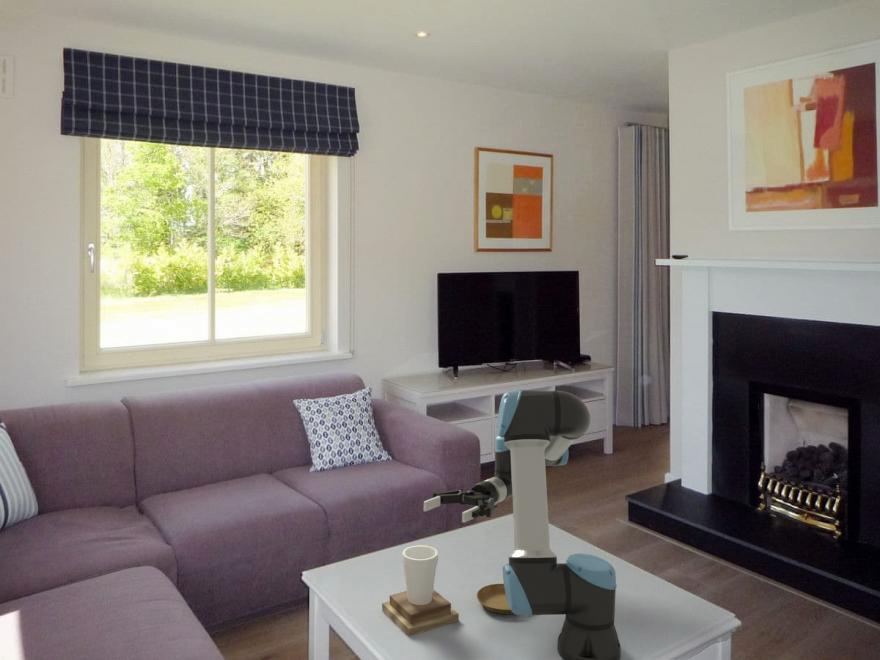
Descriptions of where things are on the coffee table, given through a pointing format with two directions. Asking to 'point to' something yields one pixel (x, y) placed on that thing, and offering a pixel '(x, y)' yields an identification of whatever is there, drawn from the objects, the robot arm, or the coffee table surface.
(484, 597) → the plant saucer
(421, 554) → the foam cup
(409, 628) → the plinth
